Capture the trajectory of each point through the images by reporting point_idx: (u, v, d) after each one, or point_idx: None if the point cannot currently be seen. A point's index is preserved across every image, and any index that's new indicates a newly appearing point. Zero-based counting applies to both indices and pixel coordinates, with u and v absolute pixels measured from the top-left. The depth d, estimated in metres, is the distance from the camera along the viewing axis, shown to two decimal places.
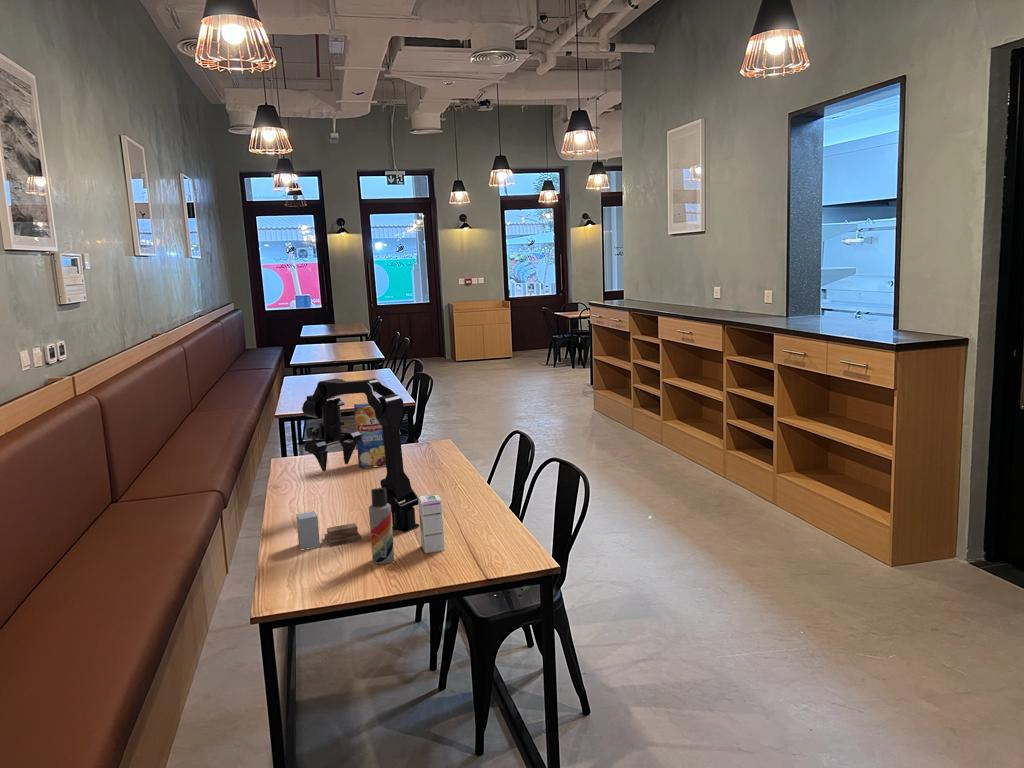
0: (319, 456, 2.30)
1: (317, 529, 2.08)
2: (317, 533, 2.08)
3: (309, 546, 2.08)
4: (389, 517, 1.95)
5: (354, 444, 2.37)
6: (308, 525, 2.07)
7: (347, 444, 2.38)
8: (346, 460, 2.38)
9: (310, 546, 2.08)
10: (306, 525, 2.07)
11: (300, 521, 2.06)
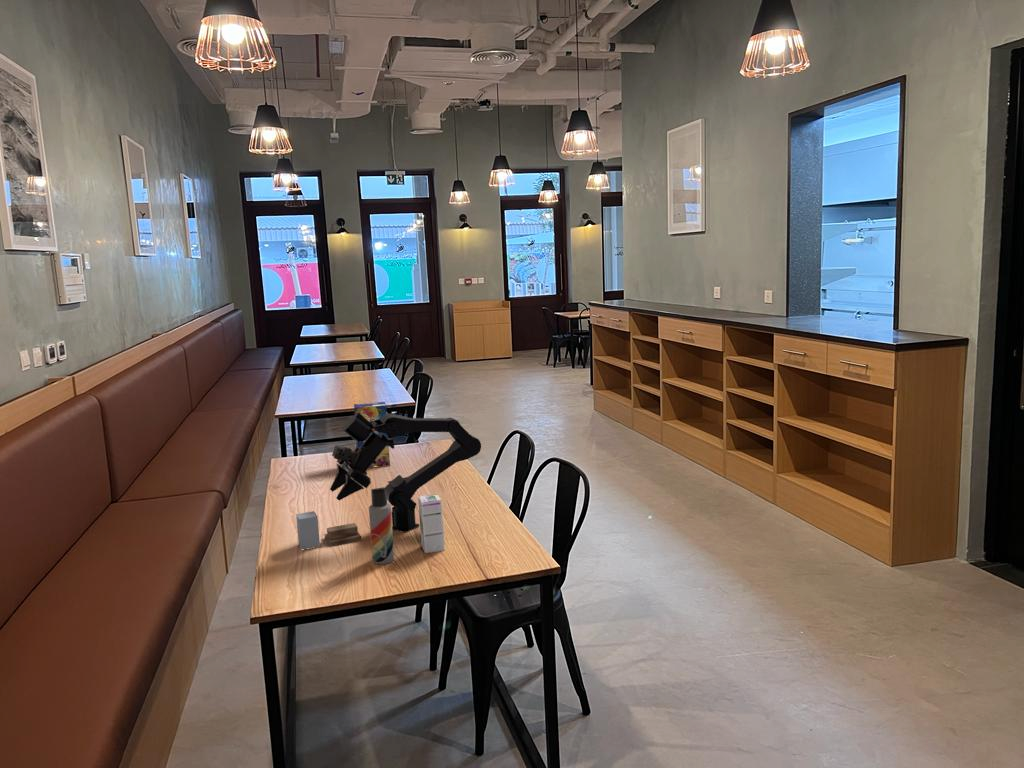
0: (349, 485, 2.07)
1: (317, 529, 2.08)
2: (317, 533, 2.08)
3: (309, 546, 2.08)
4: (389, 517, 1.95)
5: None
6: (308, 525, 2.07)
7: (347, 473, 2.17)
8: (335, 488, 2.16)
9: (310, 546, 2.08)
10: (306, 525, 2.07)
11: (300, 521, 2.06)
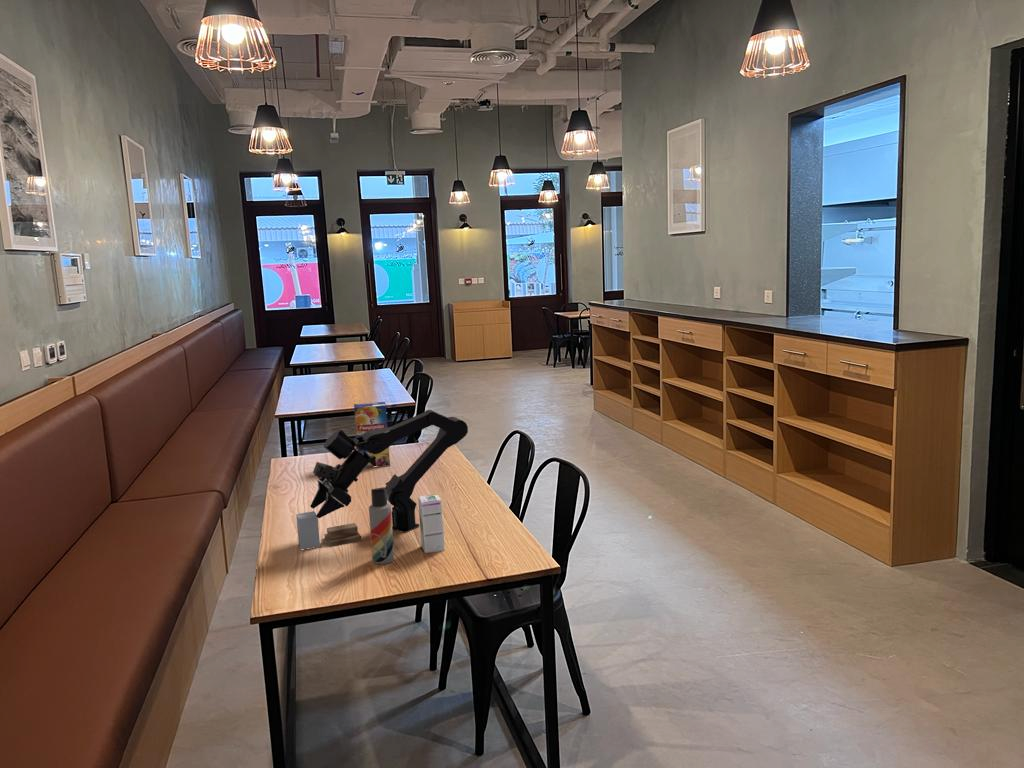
0: (330, 503, 2.05)
1: (317, 529, 2.08)
2: (317, 533, 2.08)
3: (309, 546, 2.08)
4: (389, 517, 1.95)
5: None
6: (308, 525, 2.07)
7: (327, 490, 2.16)
8: (315, 505, 2.14)
9: (310, 546, 2.08)
10: (306, 525, 2.07)
11: (300, 521, 2.06)
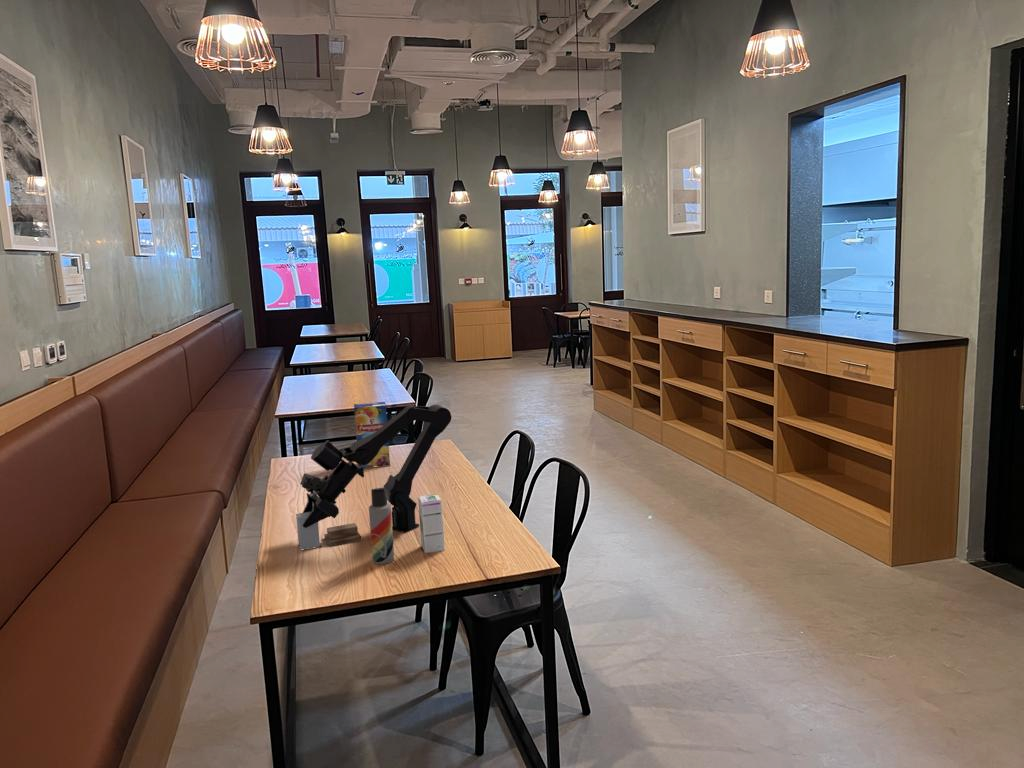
0: (316, 513, 2.06)
1: (317, 529, 2.08)
2: (317, 533, 2.08)
3: (309, 546, 2.08)
4: (389, 517, 1.95)
5: None
6: None
7: None
8: None
9: (310, 546, 2.08)
10: None
11: (300, 521, 2.06)
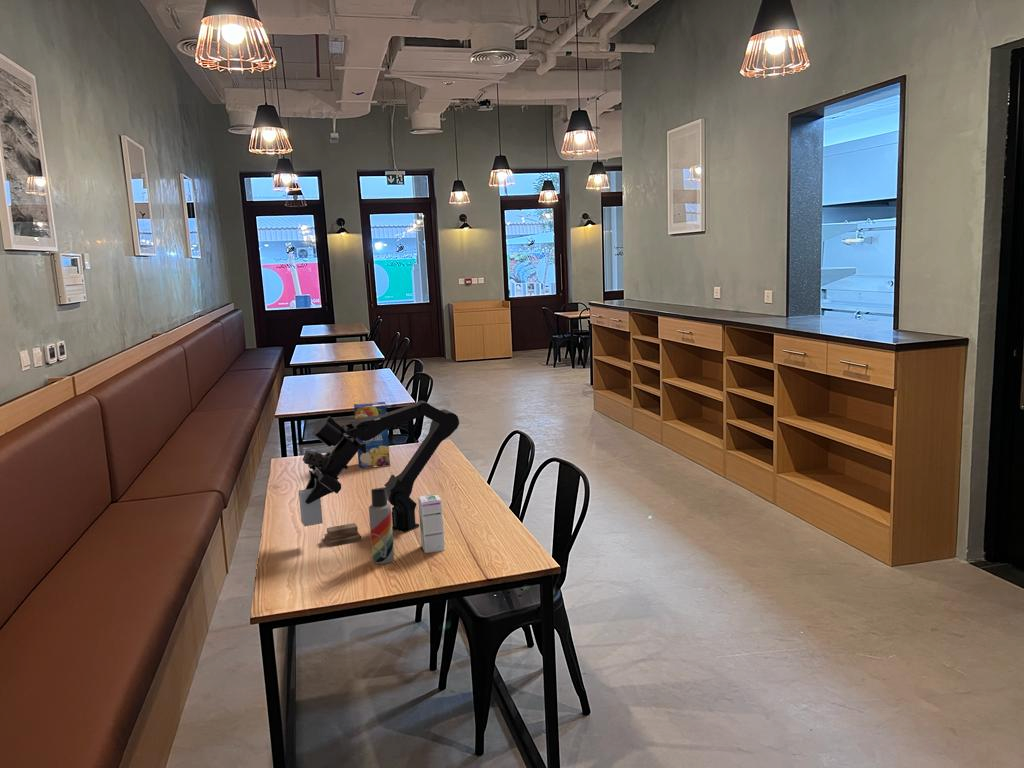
0: (318, 489, 2.05)
1: (319, 505, 2.07)
2: (320, 509, 2.08)
3: (312, 522, 2.07)
4: (389, 517, 1.95)
5: None
6: None
7: None
8: None
9: (313, 522, 2.07)
10: None
11: (302, 497, 2.05)
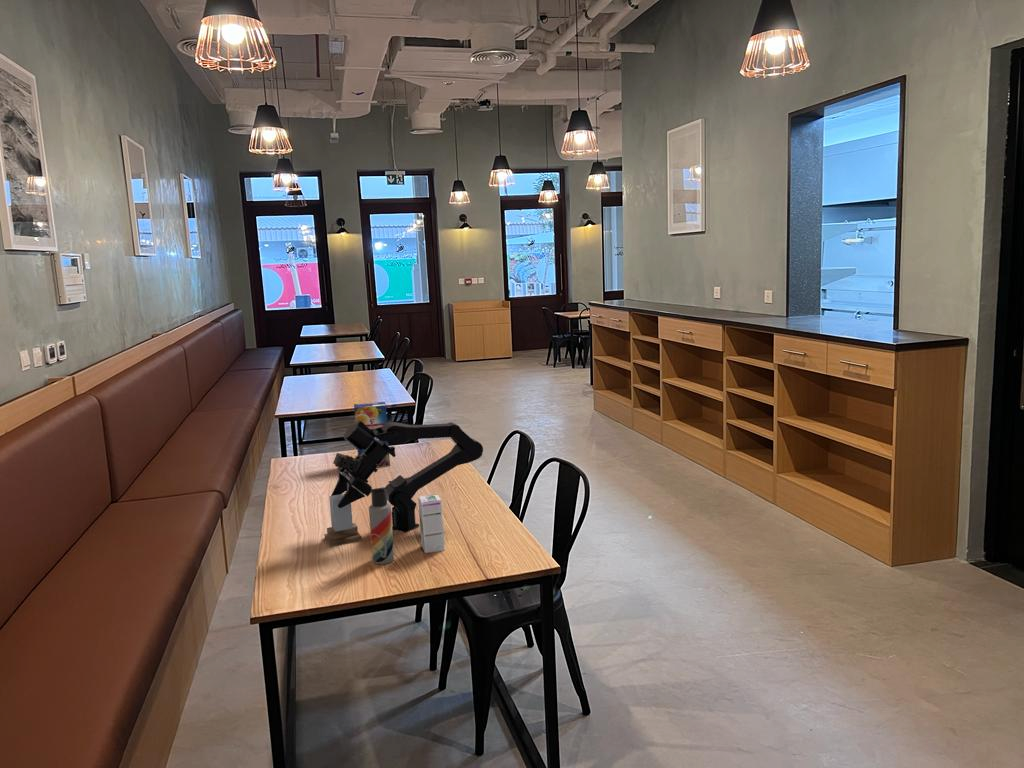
0: (351, 493, 2.07)
1: (350, 511, 2.11)
2: (350, 514, 2.12)
3: (342, 527, 2.11)
4: (389, 517, 1.95)
5: None
6: (342, 507, 2.10)
7: (347, 481, 2.18)
8: None
9: (343, 527, 2.11)
10: None
11: (334, 502, 2.09)
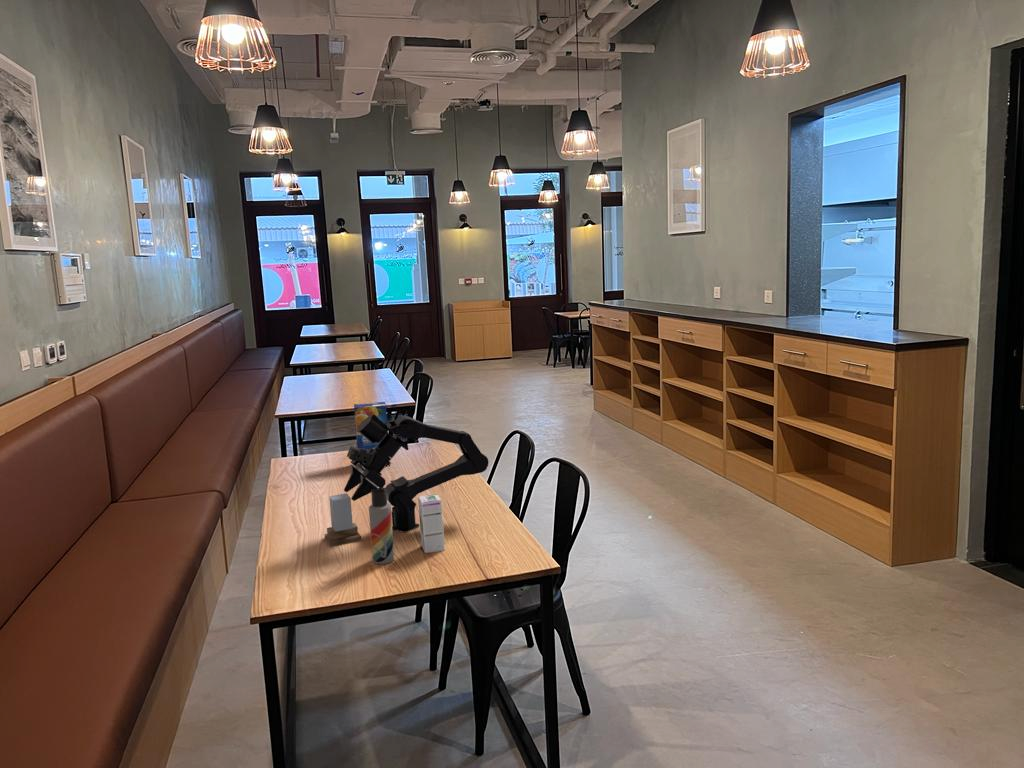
0: (364, 486, 2.09)
1: (350, 511, 2.11)
2: (350, 514, 2.12)
3: (342, 527, 2.11)
4: (389, 517, 1.95)
5: None
6: (342, 507, 2.10)
7: (360, 474, 2.19)
8: (349, 488, 2.17)
9: (343, 527, 2.11)
10: (340, 506, 2.10)
11: (334, 502, 2.09)
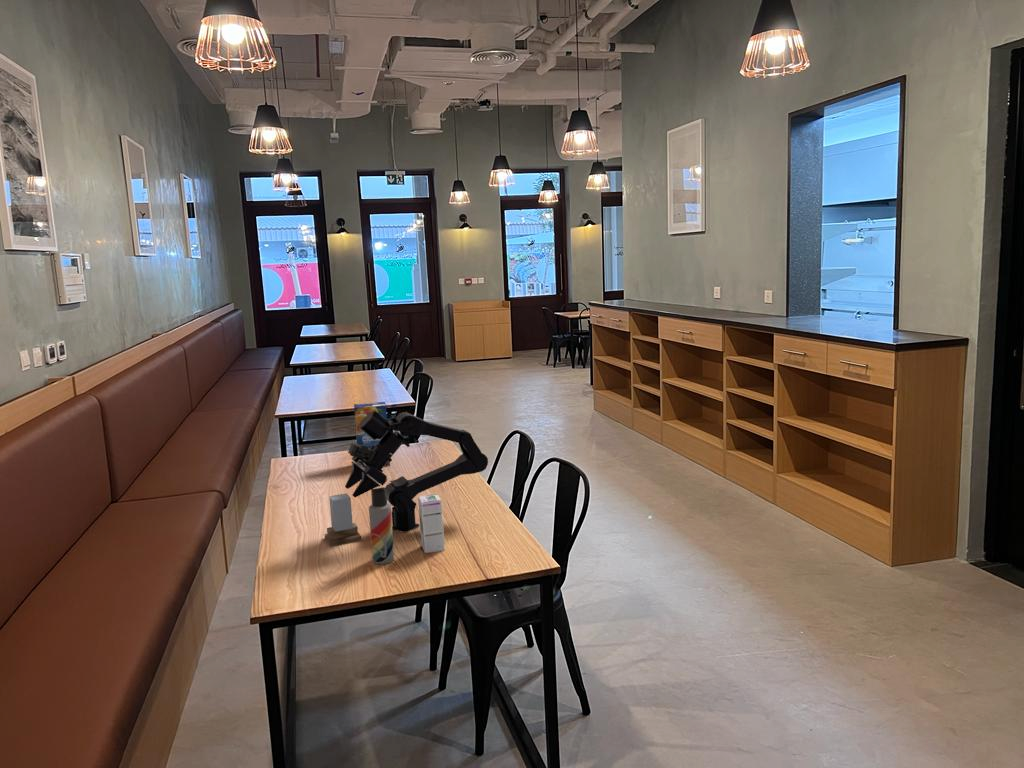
0: (365, 483, 2.09)
1: (350, 511, 2.11)
2: (350, 514, 2.12)
3: (342, 527, 2.11)
4: (389, 517, 1.95)
5: None
6: (342, 507, 2.10)
7: (362, 471, 2.19)
8: (350, 485, 2.17)
9: (343, 527, 2.11)
10: (340, 506, 2.10)
11: (334, 502, 2.09)
